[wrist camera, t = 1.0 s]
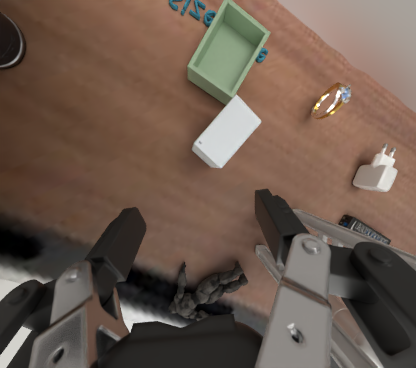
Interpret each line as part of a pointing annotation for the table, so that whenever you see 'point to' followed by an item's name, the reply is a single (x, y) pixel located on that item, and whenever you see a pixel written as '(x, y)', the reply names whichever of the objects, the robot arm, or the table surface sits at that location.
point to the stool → (340, 341)
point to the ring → (341, 94)
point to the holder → (227, 52)
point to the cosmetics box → (226, 133)
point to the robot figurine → (205, 291)
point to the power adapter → (377, 173)
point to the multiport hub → (362, 228)
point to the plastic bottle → (351, 327)
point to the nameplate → (209, 19)
